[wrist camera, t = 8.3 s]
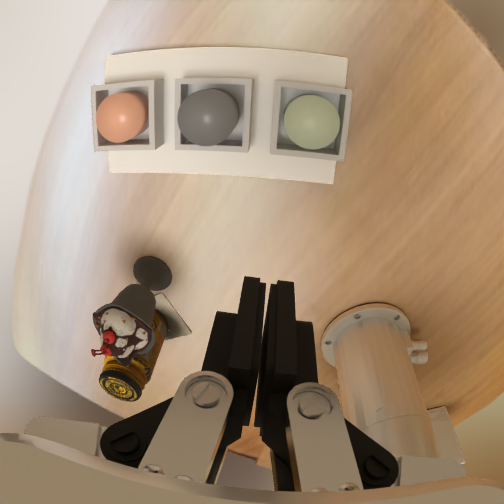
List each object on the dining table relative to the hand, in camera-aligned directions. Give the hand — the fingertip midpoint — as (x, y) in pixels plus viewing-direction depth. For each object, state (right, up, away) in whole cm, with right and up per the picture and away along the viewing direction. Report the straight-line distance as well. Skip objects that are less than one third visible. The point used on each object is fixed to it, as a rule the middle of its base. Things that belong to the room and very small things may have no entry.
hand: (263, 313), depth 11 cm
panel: (-3, +15, +16) cm, 23 cm away
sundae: (-12, 0, +27) cm, 29 cm away
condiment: (-14, -7, +31) cm, 35 cm away
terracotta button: (-12, +15, +15) cm, 24 cm away
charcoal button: (-4, +14, +14) cm, 19 cm away
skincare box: (+36, -32, +42) cm, 63 cm away
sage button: (+4, +14, +15) cm, 21 cm away
